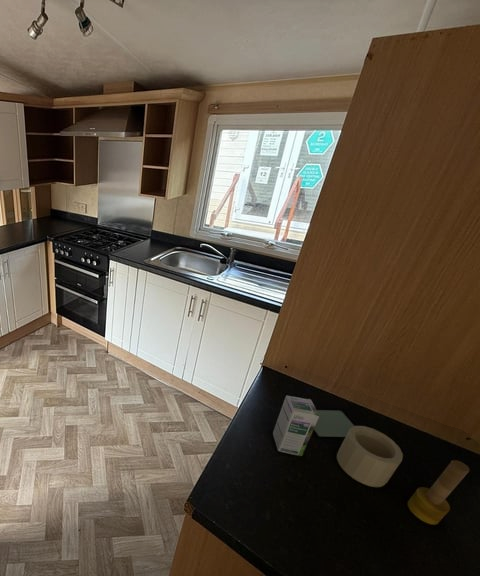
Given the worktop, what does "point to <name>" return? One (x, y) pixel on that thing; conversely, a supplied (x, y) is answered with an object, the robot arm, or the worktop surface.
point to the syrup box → (295, 425)
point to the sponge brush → (437, 494)
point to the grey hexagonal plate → (332, 424)
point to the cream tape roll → (369, 456)
